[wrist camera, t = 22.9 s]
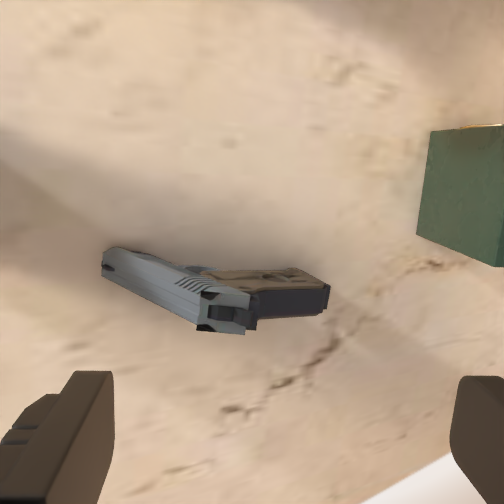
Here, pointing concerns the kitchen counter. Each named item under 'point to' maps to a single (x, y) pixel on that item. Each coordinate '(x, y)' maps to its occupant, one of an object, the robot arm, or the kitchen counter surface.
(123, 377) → the kitchen counter surface
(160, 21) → the kitchen counter surface
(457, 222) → the clock
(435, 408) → the kitchen counter surface
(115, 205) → the kitchen counter surface
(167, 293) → the handgun
